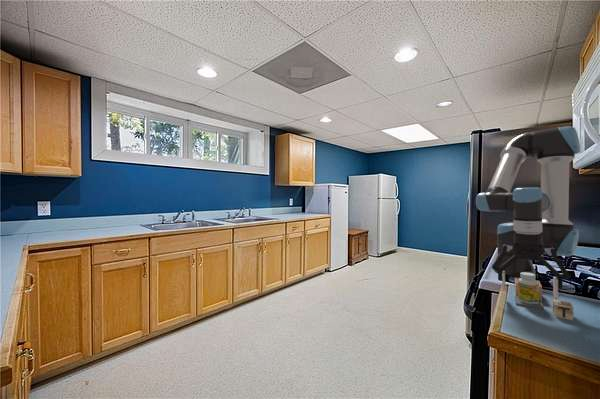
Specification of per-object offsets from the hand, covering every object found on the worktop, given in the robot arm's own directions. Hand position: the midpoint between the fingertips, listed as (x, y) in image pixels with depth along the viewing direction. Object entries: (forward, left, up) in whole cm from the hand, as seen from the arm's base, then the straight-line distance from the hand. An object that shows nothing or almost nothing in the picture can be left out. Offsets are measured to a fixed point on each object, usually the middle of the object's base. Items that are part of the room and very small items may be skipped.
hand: (528, 293), depth 91 cm
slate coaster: (0, 0, -3) cm, 3 cm away
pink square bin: (-8, 0, -3) cm, 9 cm away
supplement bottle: (0, 0, -3) cm, 3 cm away
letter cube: (+6, +7, -4) cm, 10 cm away
